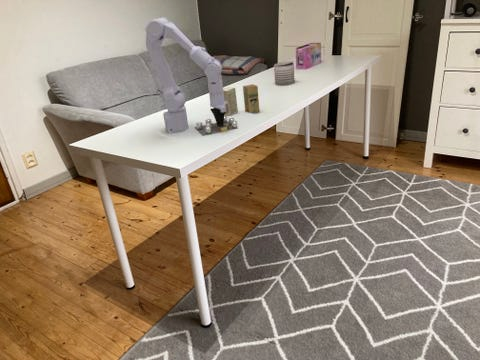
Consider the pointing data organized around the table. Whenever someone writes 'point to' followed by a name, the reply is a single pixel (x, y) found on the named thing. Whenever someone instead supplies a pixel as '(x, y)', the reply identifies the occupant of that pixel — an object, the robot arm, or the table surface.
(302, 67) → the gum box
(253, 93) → the shoe polish box
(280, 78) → the can
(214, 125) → the mat
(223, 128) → the nut
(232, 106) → the skincare box
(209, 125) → the spacers
